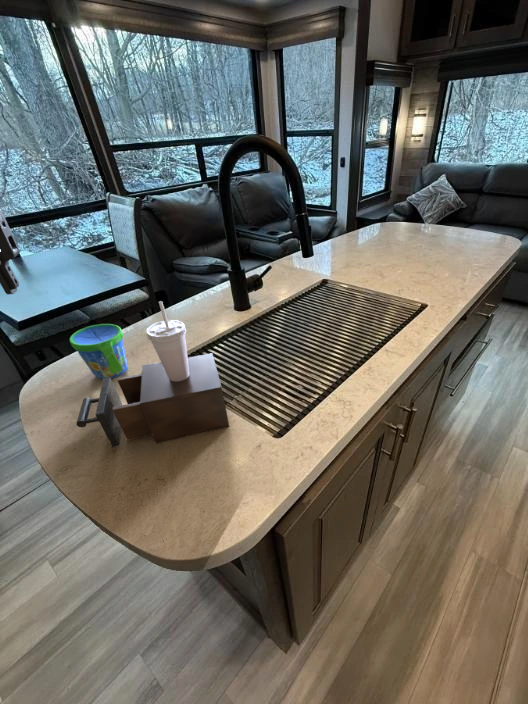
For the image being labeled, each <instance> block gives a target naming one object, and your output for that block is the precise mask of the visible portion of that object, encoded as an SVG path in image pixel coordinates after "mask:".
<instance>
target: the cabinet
mask: <svg viewBox="0 0 528 704" xmlns="http://www.w3.org/2000/svg"><path fill="white" fill-rule="evenodd" d="M215 360H216V359H215V357H214V354H213V353H206V354H205V353H204V354H201V355H194V356H188V365H189V374H190V375H189V377H188V378H187V379H185V380H182V381H171V380H170V379H169V377H168V375H167V373H166V371H165V369H164V367H163V365H162V363H161V361H160V362H154V363H148V364H143V365H141V374H142V379H141V395H140V405H141V408H142V410H143V412H144V415H145V417H146V420H147V422H148V425H149V427H150V430H151V432H152V435H151V436H152V437H153V440H154V442H155V444H161V443H166V442H170V441H174V440H178V439H183V438H187V437H191V436H196V435H200V434H204V433H208V432H212V431H218V430H221V429H222V430H223V429H226V428H230V422H229V418H228V412H227V408H226V403H225V397H224V393H223V392H224V391H223V387H222V384H221V379H220V376H219V372H218V368H217V364H216V361H215Z"/></svg>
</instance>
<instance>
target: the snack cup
mask: <svg viewBox="0 0 528 704" xmlns="http://www.w3.org/2000/svg"><path fill="white" fill-rule="evenodd" d="M123 338H124V333H123V331H122V328H121V327H120V326H119V325H116V324H113V323H100V324H94V325H90V326H86V327H83V328H81V329H78V330H77V331H75V332H74V333H72V335H70V338H69V343H70V345H71V347H72V348H73V349H74V350H75V351H77V353H78V355H79V356H80V358H81V359H82V361H83V362H84V363H85V364H86V366H87V367H88V369H89V370H90V372H91V373H92V374H93V375H94V376H95V377H97V378H98V379H100V380H103V378H107V377H110V378H111V379H114V378H119V377H120V376H121V375H123V374H124V373H125V372H126V371H127V370H128V367H129V366H128V359H127V355H126V349H125V344H124V341H123Z"/></svg>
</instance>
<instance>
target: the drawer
mask: <svg viewBox="0 0 528 704" xmlns="http://www.w3.org/2000/svg"><path fill="white" fill-rule="evenodd" d="M141 379H142V373H140V374H134V375H129V376H123V377H117V383H118V385H119V387H120V390H121V392H122V395H123V397H124V399H125V402H126V403H127V404H123V402H122V400H121V398H120V395H119V393H118V392H117V389H116V387H115V384H114V382H113V380H112V378H110V377H107V378H103V379H102V383H101V388H100V392H99V397H97V398H91V397H87V396H86V397H84V398H83V399H82V401H81V405H80V409H79V413H78V415H77V419H76V423H75V424H76V427H78V428H86V427H87V424H93V423H96V422H98V423H99V425H100V426H101V428H102V430H103V432H104V435H105V436H106V438H107V440H108V442H109V444H110V445H111V447H112V448H117V447H120V446H121V445H120V444H121V438H122V437H121V436H122V434H123V435H124V437H125V439H126V441H130V440H136V439H139V438H144V437H148V436H153V435H152V432H151V430H150V427H149V425H148V422H147V420H146V417H145V415H144V412H143V410H142V408H141V405H140V395H141ZM96 403H97V405H96V411H95V417H91V418H89V416H90V413H91V407H92V404H96Z"/></svg>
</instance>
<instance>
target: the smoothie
mask: <svg viewBox="0 0 528 704" xmlns="http://www.w3.org/2000/svg"><path fill="white" fill-rule="evenodd" d="M163 303H164V302H163V301H162V300H160V301H158V304H159V305H158V306H159V308H160V311H161V315H162V318H163V320H162V321H158V322H155V323H153V324H151V325H149V326H148V327H147V328H146V329H145V334H146V338H147V339H148V341H150V342H151V344H152V346H153V349H154V350H155V352H156V354H157V356H158V359H159V361H160V362H161V363H162V365H163V367H164V369H165V371H166V373H167V375H168V377H169V379H170V380H171V381H182V380H185V379H187V378H188V377H189V375H190V374H189V365H188V357H189V356H188V349H187V348H188V347H187V339H186V334H187V328H186V325H185V323H184V322H182V321H180V320H175V319H171V320H170V319H168V317H167V313H166V310H165V306H164V304H163Z"/></svg>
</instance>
